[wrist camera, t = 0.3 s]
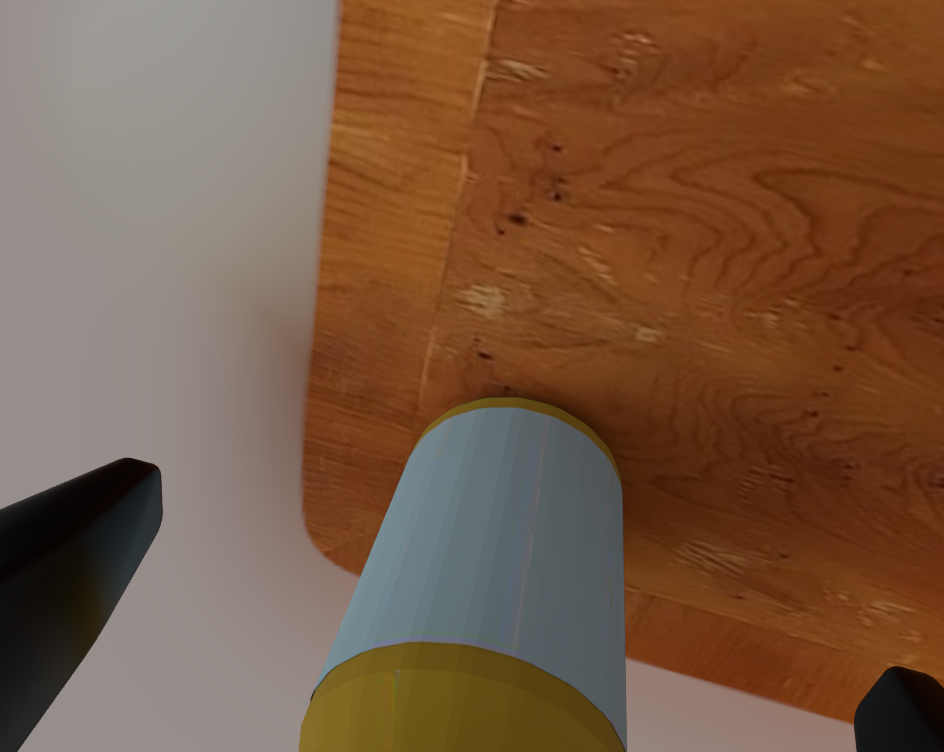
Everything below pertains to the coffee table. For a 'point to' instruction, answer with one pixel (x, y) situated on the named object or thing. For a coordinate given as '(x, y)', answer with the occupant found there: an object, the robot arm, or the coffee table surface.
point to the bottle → (487, 597)
